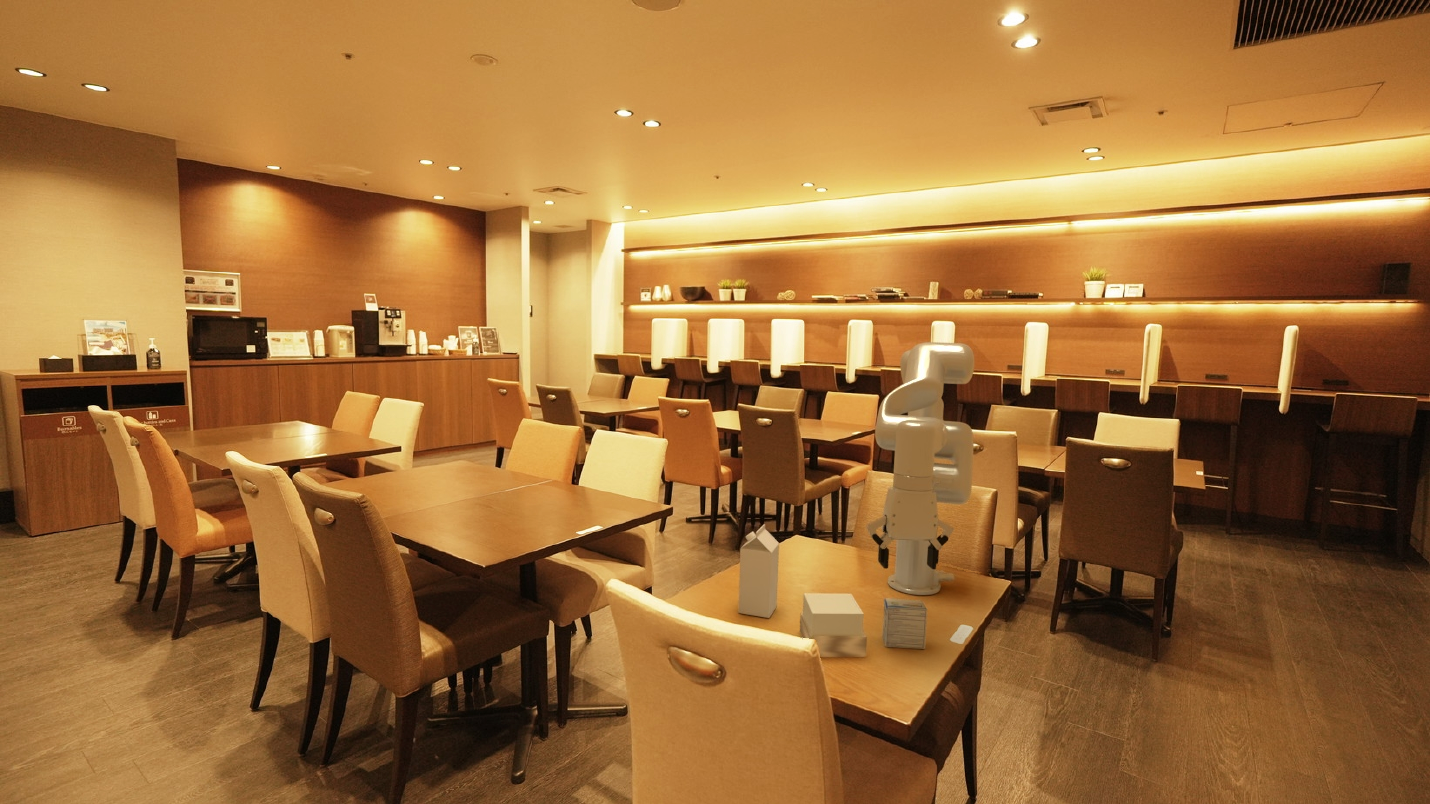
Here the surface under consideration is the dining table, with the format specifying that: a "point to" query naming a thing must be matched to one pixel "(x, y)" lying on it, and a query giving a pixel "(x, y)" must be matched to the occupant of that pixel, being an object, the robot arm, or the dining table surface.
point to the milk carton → (758, 574)
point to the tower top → (832, 614)
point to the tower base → (836, 643)
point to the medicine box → (904, 623)
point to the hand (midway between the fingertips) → (907, 566)
